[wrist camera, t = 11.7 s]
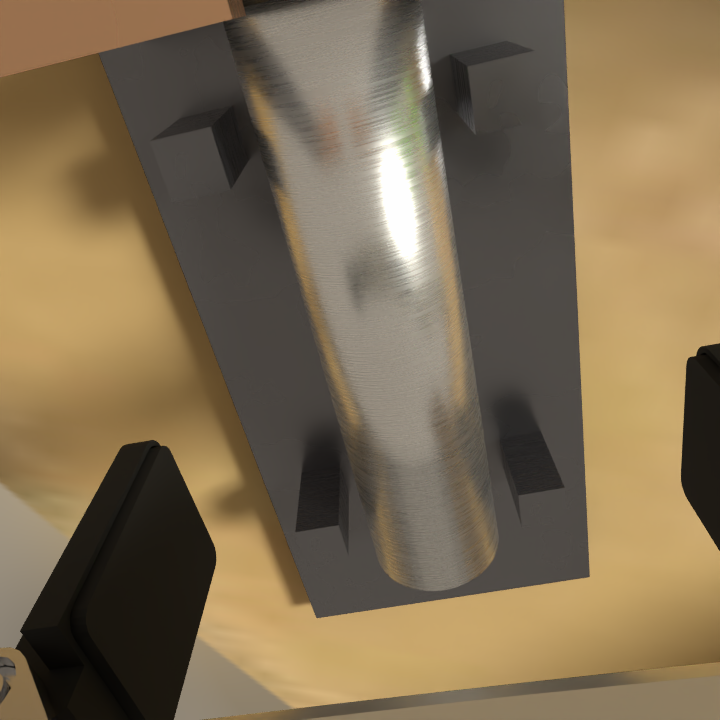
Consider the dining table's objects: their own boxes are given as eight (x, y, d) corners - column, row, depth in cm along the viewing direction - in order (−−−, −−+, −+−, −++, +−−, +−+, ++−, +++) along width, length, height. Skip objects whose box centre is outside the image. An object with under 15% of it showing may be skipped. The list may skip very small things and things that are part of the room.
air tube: (202, -113, 15) (146, -149, 11) (390, -166, 14) (402, -222, 10) (373, 506, 25) (376, 602, 21) (487, 487, 24) (512, 582, 20)
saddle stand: (534, -313, 14) (856, -845, 5) (581, 555, 28) (688, 822, 19) (32, -166, 15) (-428, -388, 6) (317, 595, 29) (302, 865, 20)
